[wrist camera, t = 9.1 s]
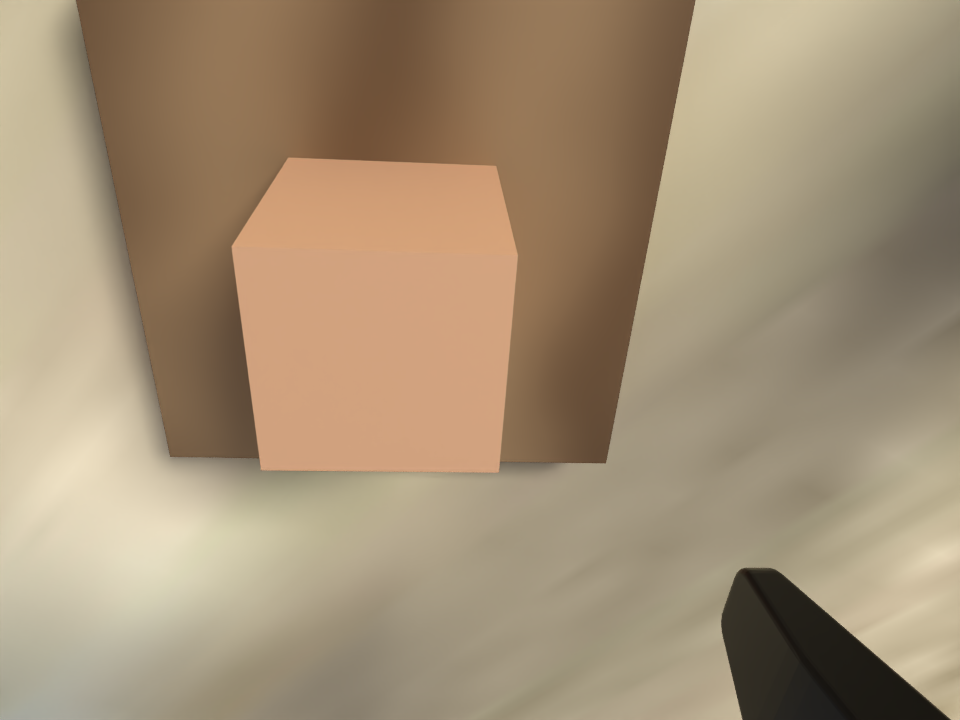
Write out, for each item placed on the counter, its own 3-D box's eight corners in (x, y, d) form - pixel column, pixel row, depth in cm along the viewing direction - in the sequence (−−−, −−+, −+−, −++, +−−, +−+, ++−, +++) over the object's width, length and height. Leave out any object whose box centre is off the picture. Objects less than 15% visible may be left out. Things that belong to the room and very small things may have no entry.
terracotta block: (496, 165, 16) (518, 255, 12) (484, 342, 18) (498, 472, 14) (288, 157, 15) (231, 246, 11) (303, 339, 18) (261, 470, 14)
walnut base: (669, -19, 16) (697, -12, 14) (592, 421, 22) (605, 463, 20) (107, -56, 15) (64, -54, 13) (191, 413, 21) (170, 456, 19)
